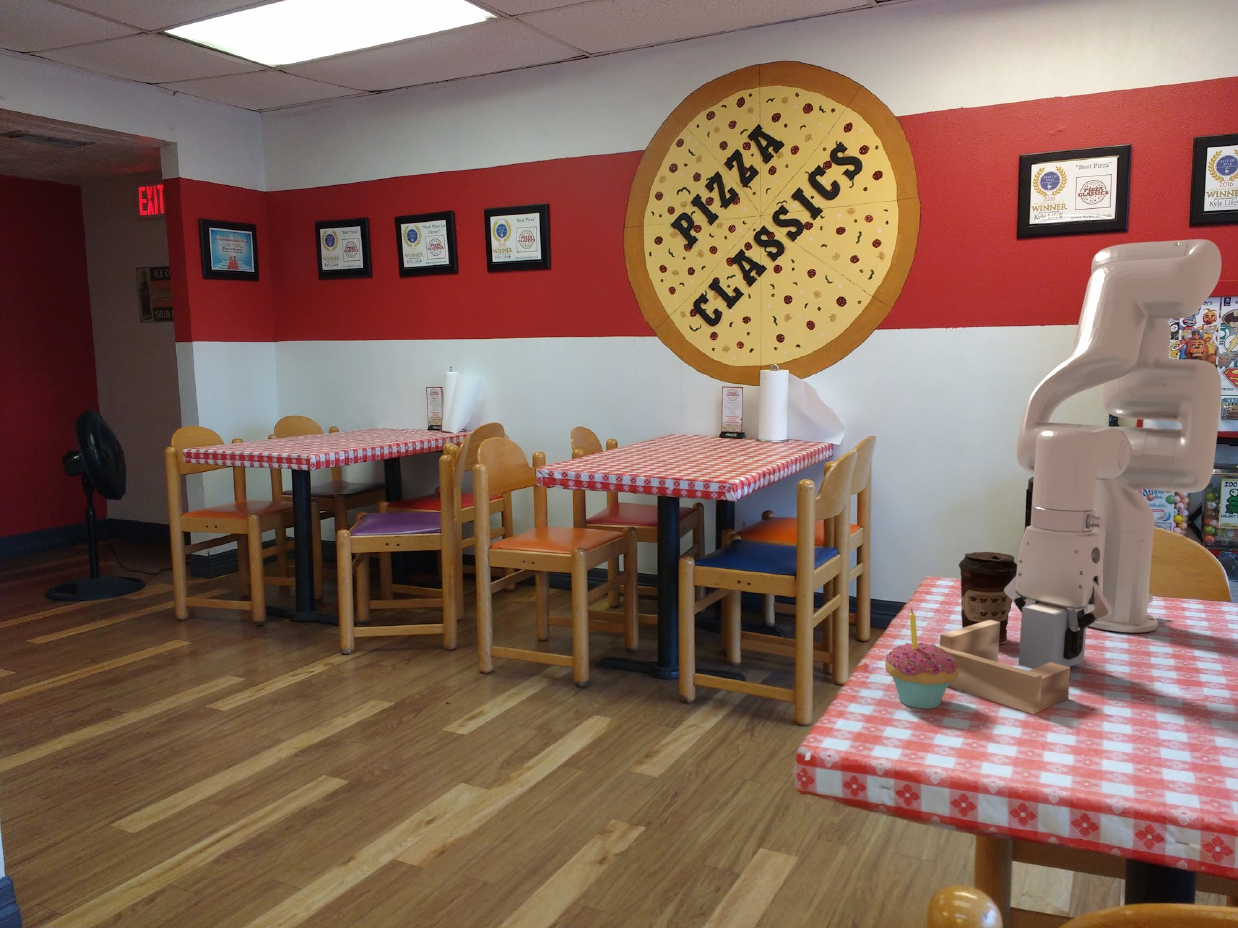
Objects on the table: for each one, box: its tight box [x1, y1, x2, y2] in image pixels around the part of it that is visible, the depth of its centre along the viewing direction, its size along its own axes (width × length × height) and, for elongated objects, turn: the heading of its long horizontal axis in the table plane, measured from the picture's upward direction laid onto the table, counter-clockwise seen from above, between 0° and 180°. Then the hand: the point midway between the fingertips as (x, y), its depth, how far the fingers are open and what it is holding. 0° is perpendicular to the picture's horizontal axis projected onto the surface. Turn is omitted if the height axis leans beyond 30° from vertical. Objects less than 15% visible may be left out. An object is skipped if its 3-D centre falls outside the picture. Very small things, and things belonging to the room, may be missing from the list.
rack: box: [937, 620, 1071, 715], centre depth 118 cm, size 14×14×6 cm
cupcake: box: [884, 607, 958, 710], centre depth 112 cm, size 9×8×12 cm
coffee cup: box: [958, 551, 1018, 645], centre depth 137 cm, size 9×8×13 cm
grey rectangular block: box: [1018, 602, 1088, 669], centre depth 125 cm, size 9×4×8 cm, turn 128°
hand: (1052, 651), depth 125 cm, fingers closed on grey rectangular block, 4 cm apart
